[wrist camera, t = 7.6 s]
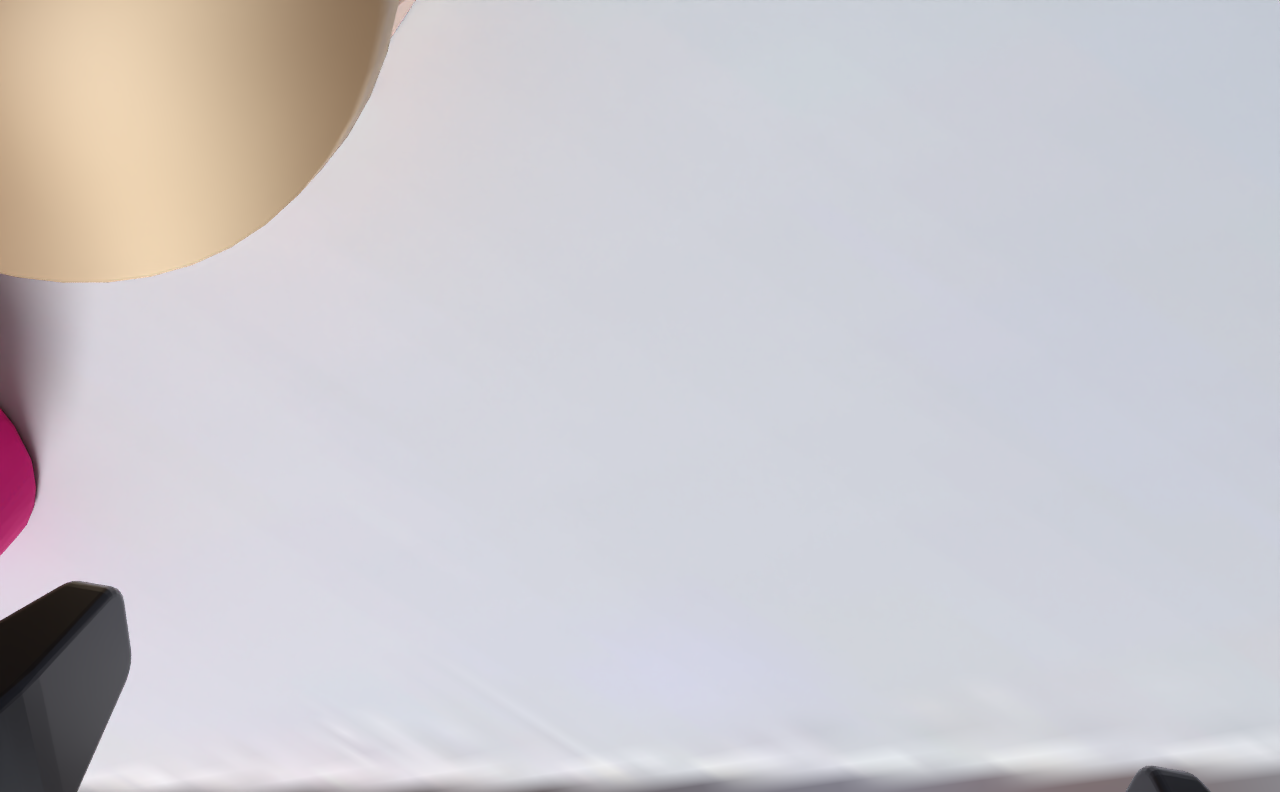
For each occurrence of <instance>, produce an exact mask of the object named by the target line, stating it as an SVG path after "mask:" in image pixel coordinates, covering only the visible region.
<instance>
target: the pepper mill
mask: <svg viewBox="0 0 1280 792" xmlns="http://www.w3.org/2000/svg"><path fill="white" fill-rule="evenodd" d="M35 492H36V485H35V478H34V472H33V466H32V460H31V458H30V456H29V454H28V452H27V450H26V448H25V446H24V444H23V442H22V440H21V438H20V436H19V434H18V432H17V430H16V428H15V426H14V425H13V424H12V422H11V421H10V420H9V419H8V417H7V416H6V415H5V414H4V412H3V411H2V410H1V409H0V555H1V554H2V553H3V552H4V551H5V550H6V549H7V548H8V546H9V545H10V544H11V543H12V542H13V541H14V540H15V539H16V537H17V536H18V535H19V534H20V532H21V531H22V530H23V529H24V527H25V526H26V525H27V523H28V520H29V518H30V515H31V513H32V510H33V508H34V502H35Z"/></svg>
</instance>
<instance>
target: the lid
mask: <svg viewBox="0 0 1280 792" xmlns="http://www.w3.org/2000/svg"><path fill="white" fill-rule="evenodd" d="M398 4H399V0H0V273H1V274H5V275H10V276H14V277H20V278H29V279H37V280H46V281H54V282H63V283H65V282H114V281H121V280H129V279H136V278H144V277H151V276H155V275H158V274H162V273H165V272H169V271H172V270H176V269H180V268H183V267H187V266H190V265H193V264H195V263H198V262H200V261H202V260H204V259H206V258H209V257H211V256H213V255H215V254H218V253H220V252H222V251H224V250H226V249H229V248H231V247H232V246H234V245H235V244H237V243H238V242H240V241H241V240H243V239H245V238H246V237H248V236H249V235H251V234H252V233H254V232H255V231H257V230H258V229H260V228H261V227H263V226H264V225H266V224H267V223H268V222H269V221H270V220H271V219H272V218H274V217H275V216H276V215H277V214H278V213H279V212H280V211H281V210H282V209H283V208H284V207H286V206H287V205H288V204H289V203H290V202H291V201H292V200H293V199H294V198H295V197H296V196H298V195H299V193H300V192H301V191H302V190H303V189H304V188H305V187H306V186H307V185H308V184H309V182H310V181H311V180H312V179H313V178H314V177H315V176H316V175H317V174H318V173H319V172H320V170H321V169H322V168H323V167H324V166H325V164H326V163H327V162H328V160H329V159H330V158H331V157H332V155H333V154H334V153H335V152H336V150H337V149H338V148H339V147H340V145H341V144H342V143H343V141H344V140H345V139H346V138H347V136H348V135H349V133H350V131H351V130H352V128H353V126H354V124H355V123H356V121H357V119H358V117H359V116H360V114H361V112H362V110H363V108H364V107H365V105H366V103H367V101H368V100H369V98H370V96H371V93H372V91H373V88H374V86H375V83H376V80H377V78H378V75H379V72H380V70H381V67H382V65H383V62H384V59H385V57H386V54H387V52H388V47H389V43H390V39H391V34H392V30H393V25H394V21H395V17H396V12H397V8H398Z"/></svg>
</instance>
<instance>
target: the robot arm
mask: <svg viewBox="0 0 1280 792" xmlns="http://www.w3.org/2000/svg"><path fill="white" fill-rule="evenodd" d="M130 664H131V647H130V640H129V633H128V626H127V619H126V612H125V605H124V600H123V596H122V594H121V593H120V591H119V590H118V589H116V588H114V587H111V586H105V585H99V584H94V583H88V582H82V581H72V582H69V583H66V584H63V585H61V586H59V587H58V588H56V589H54V590H53V591H51V592H49V593H47V594H46V595H44V596H42V597H40V598H39V599H37V600H35V601H33V602H32V603H30V604H28V605H27V606H25V607H23V608H21V609H20V610H18V611H16V612H14V613H13V614H11V615H9V616H8V617H6V618H4V619H2V620H1V621H0V792H77V791H78V789H79V787H80V784H81V782H82V780H83V778H84V775H85V773H86V771H87V769H88V766H89V764H90V762H91V759H92V757H93V755H94V753H95V750H96V748H97V746H98V744H99V741H100V739H101V737H102V735H103V732H104V730H105V728H106V725H107V723H108V721H109V719H110V716H111V714H112V712H113V710H114V707H115V705H116V703H117V700H118V698H119V696H120V694H121V691H122V689H123V687H124V685H125V682H126V680H127V677H128V673H129V670H130ZM1126 792H1211V791H1210V790H1209V789H1208V788H1207V787H1206V786H1205V785H1204V784H1203V783H1202V782H1201V781H1200V780H1199V779H1198V778H1197V777H1195V776H1194V775H1193V774H1190V773H1188V772H1185V771H1179V770H1174V769H1168V768H1162V767H1156V766H1145V767H1144V768H1142V769H1140V770H1139V771H1138V772H1137V773H1136V775H1135V776H1134V778H1133V780H1132V782H1131V783H1130V785H1129V787H1128V788H1127V790H1126Z"/></svg>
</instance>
